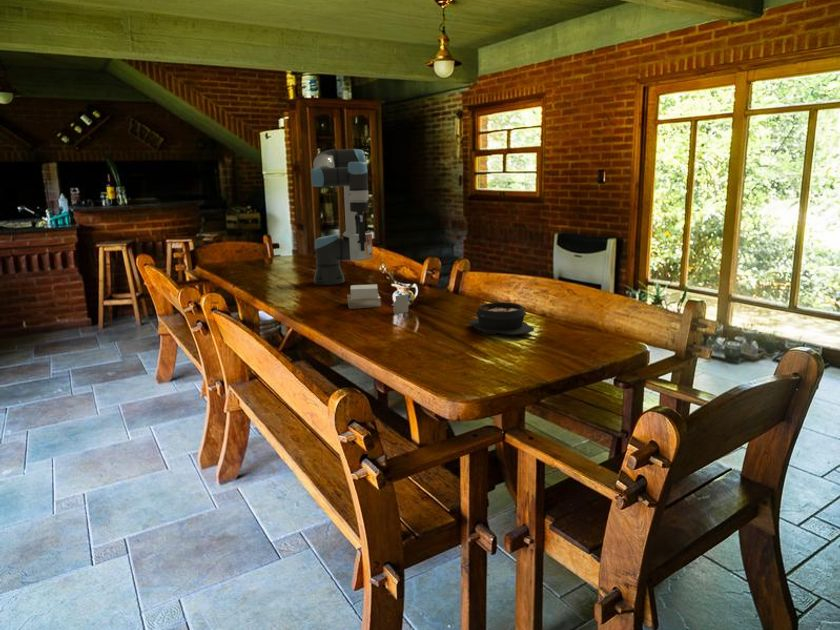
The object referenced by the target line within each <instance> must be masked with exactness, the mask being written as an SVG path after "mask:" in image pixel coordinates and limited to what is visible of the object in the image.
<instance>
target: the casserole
mask: <svg viewBox="0 0 840 630" xmlns="http://www.w3.org/2000/svg"><path fill="white" fill-rule="evenodd" d="M475 314H476V316H477V317H476V318H473V319H471V320H469V322H468V323H469V324H470V325H472V326H473V328H475V329H476V330H479V331H480V332H484V333H486V334H491V335H499V336H500V335H501V336H505V335H509V336H517V335H519V336H520V335H524V334H528V333H529V334H530V333H531V332H533V331H534V330H535V328H534V327H533V326H531V325H529V324H528V323H527V322H525V321H524V318H525V316H526V315H527V312H526V311H525V310H524V307H523V306H522V305H520V304H518V303H512V302H489V303H483V304H481V305H479V306H478V308H477V311H475Z"/></svg>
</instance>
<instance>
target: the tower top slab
mask: <svg viewBox="0 0 840 630" xmlns="http://www.w3.org/2000/svg"><path fill="white" fill-rule="evenodd" d="M349 290H350V295H351V299H365V298H378V294H379V292H378V290H379V288H378V284H377V283H375V284H353V285H350V289H349Z"/></svg>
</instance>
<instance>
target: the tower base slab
mask: <svg viewBox="0 0 840 630" xmlns="http://www.w3.org/2000/svg"><path fill="white" fill-rule="evenodd" d="M346 297H347V305H348V309H350V310H351V309H364V308H368V309H369V308H380V307H382V297H381V296H380V294H379V293H378V298H365V299H351V294H347V296H346Z"/></svg>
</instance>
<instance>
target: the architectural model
mask: <svg viewBox="0 0 840 630" xmlns="http://www.w3.org/2000/svg"><path fill="white" fill-rule="evenodd" d="M410 304H411V302H409V294H408V293H407V294H401V293H400V294H399V295H395V300H394V301H393V302H392V303H391V306H393V307H392V310H393V312H392V313H393V314H396V315H398V313H399V314H403V313H409V305H410Z"/></svg>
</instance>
